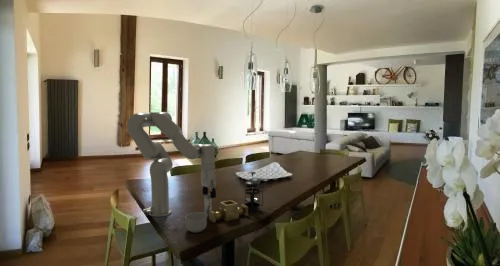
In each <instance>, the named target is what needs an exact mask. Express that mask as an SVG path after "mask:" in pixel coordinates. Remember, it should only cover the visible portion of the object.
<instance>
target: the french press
mask: <svg viewBox="0 0 500 266" xmlns="http://www.w3.org/2000/svg"><path fill="white" fill-rule="evenodd" d="M248 174H251V180H247V181H244V183H245V185H246V187H247V188H246V189H245V190H244V194H245V195H250V196H249V197H247V198H246V197H245V198H244V201H245V203H244V205H246V206H248V213H257V212H259V211H261V207H262V206H264V191H263V190H260V189H259V186H260V184H261V182H260V181H259V180H253V179H254V174H256V171H250V172H248ZM261 193H262V195H260V194H261ZM255 195H258V196H259V198H258V197H255ZM260 198H262V201H261V199H260ZM258 202H259V203H258ZM260 202H262V204H261V203H260Z"/></svg>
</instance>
